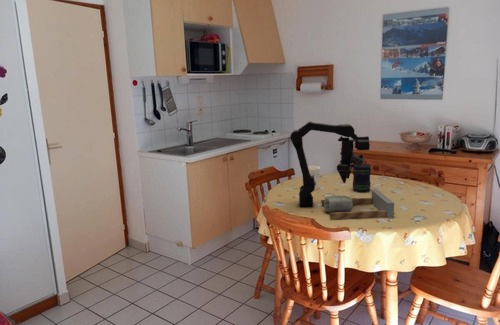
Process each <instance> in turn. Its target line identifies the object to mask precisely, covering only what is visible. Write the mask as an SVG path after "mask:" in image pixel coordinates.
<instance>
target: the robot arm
mask: <svg viewBox="0 0 500 325" xmlns="http://www.w3.org/2000/svg"><path fill="white" fill-rule="evenodd" d="M311 131H316V132H317V131H318V132H322V133H323V132H324V133H332V134H337V135H338V136H339V135H340V137H339V138H337V141H338V142H341V146H340V147H341V148H340V149H341V152H340V160H339V163H338V164H337V165H336V170H337V173H338V175H339V176H340V179H341V180H342V183H343V184H346V182H347V179H350V176H351V173H352V170H353V167H354V166H355V164H357V165H359V166H362V165H363V163H365V160H366V158H365V157H364V155H363V154H359V155H356V154H355V152H354V149H356V151H370V144H371V143H370V137H369V136H358V135H357V134H356V133H355V128H354V127H353V126H352V124H349V123H347V124H346V123H345V124H344V123H343V124H329V123H320V122H313V121H308V122H306V124H304V125H303V126H301V127H300V128H298V129H294V130H293V131H292V132H291V134H290V136H289V139H290V141H291V144H292V146H293V147H294V149H295V152H296V155H297V159H298V163H299V166H300V170H301V174H302V185H301V186H300V187H299V192H298V206H299V208H311V207H313V205H314V197H313V194H312V193H313V192H314V191H315V190H314V189H315V186H316V182H315V180H314V175H313V176H311V174H310V172H309V168H308V166H309V165H308V162H307V157H306V154H305V150H304V141H303V138H304V137H305V136H306V135H308V133H309V132H311ZM313 208H314V207H313Z"/></svg>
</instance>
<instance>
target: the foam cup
mask: <svg viewBox="0 0 500 325" xmlns="http://www.w3.org/2000/svg"><path fill="white" fill-rule="evenodd" d="M308 168H309V172H310V174H311V176H313V175H314V180H315V182H316V186H315V189H314V191H317V190H318V188H319V181H320V173H321V167H320V166H318V165H308Z"/></svg>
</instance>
